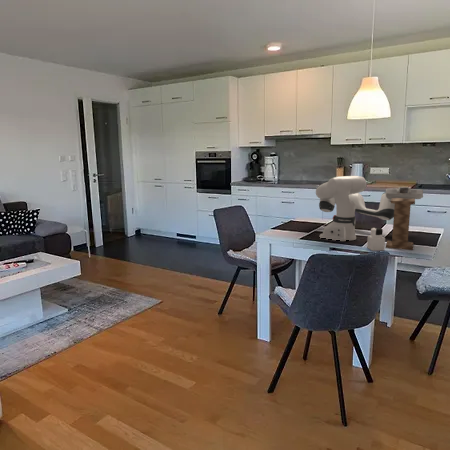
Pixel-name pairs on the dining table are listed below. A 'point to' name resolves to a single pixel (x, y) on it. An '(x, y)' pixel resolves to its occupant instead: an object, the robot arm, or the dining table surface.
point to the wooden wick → (403, 189)
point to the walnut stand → (401, 224)
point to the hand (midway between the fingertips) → (404, 188)
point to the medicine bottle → (376, 240)
